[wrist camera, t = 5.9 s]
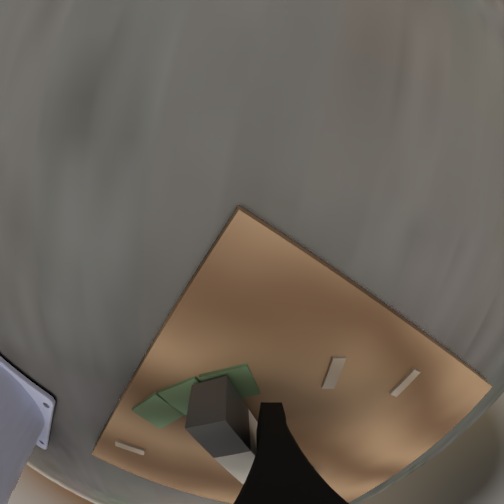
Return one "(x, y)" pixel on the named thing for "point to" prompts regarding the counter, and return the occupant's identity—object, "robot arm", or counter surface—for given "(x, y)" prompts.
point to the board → (288, 370)
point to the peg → (223, 425)
